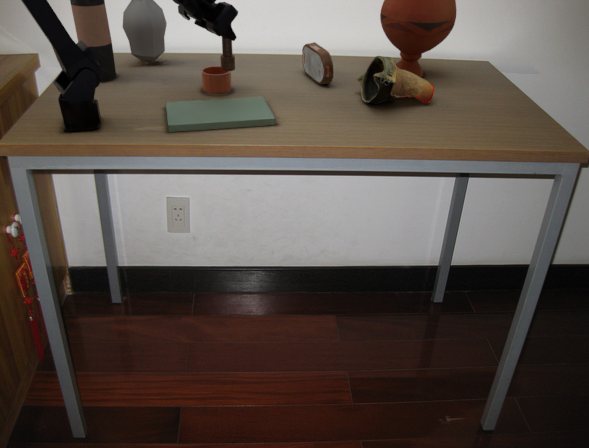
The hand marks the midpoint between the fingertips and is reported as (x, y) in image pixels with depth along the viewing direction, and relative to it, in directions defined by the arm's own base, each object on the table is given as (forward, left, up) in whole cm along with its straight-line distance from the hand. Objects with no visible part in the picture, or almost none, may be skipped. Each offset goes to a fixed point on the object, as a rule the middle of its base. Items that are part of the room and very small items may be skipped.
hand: (232, 37), depth 110 cm
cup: (-4, +5, -14) cm, 15 cm away
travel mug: (-31, +19, -14) cm, 39 cm away
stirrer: (-1, 0, -7) cm, 7 cm away
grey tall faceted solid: (-19, +29, -14) cm, 37 cm away
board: (-5, -11, -14) cm, 18 cm away
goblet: (+50, +11, -14) cm, 53 cm away
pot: (+35, -9, -14) cm, 39 cm away
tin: (+23, +10, -14) cm, 28 cm away
